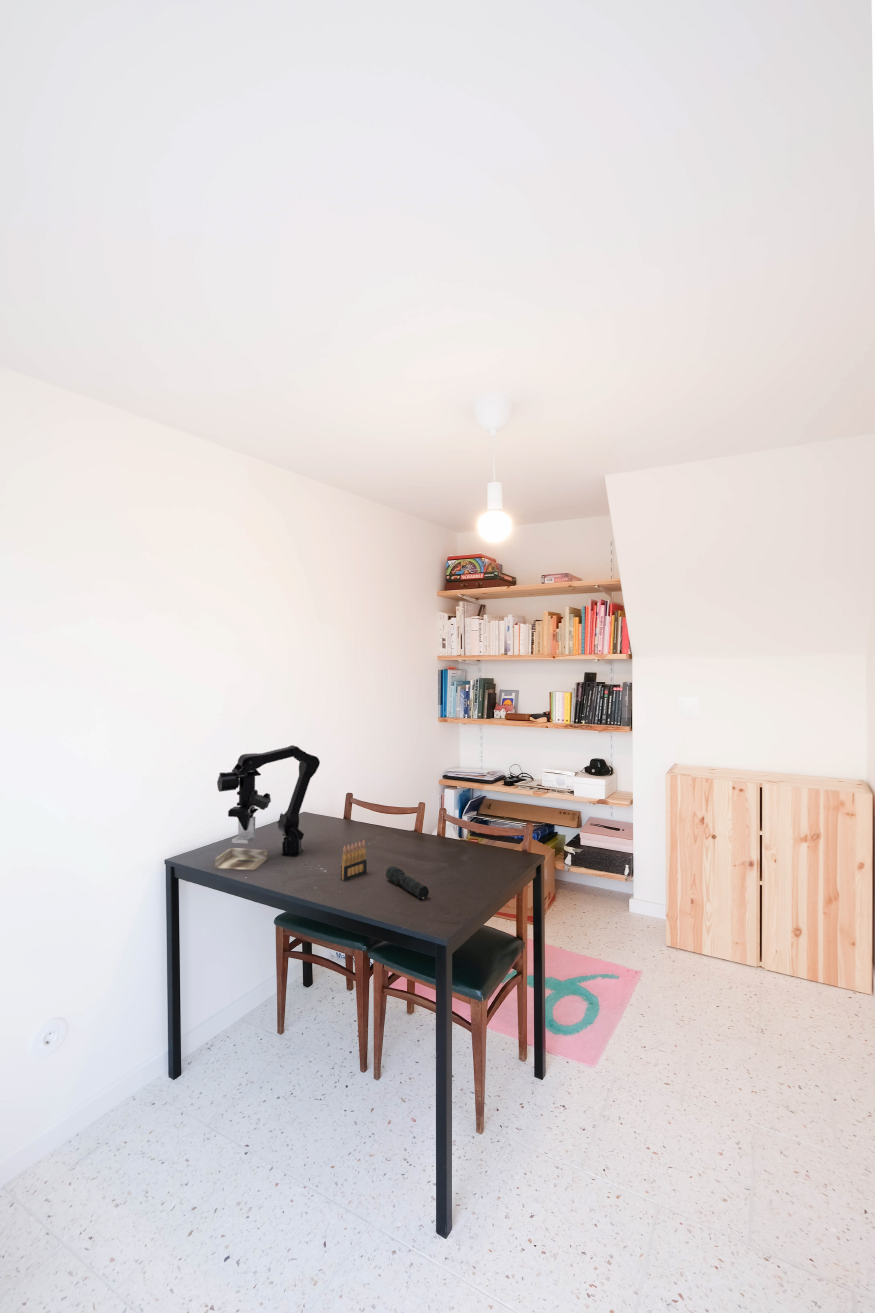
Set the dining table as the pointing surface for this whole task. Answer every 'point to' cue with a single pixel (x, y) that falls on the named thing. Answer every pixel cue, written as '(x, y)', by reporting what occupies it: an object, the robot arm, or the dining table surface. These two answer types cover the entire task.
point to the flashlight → (406, 882)
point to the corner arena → (241, 859)
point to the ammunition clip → (353, 862)
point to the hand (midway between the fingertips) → (246, 829)
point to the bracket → (245, 832)
